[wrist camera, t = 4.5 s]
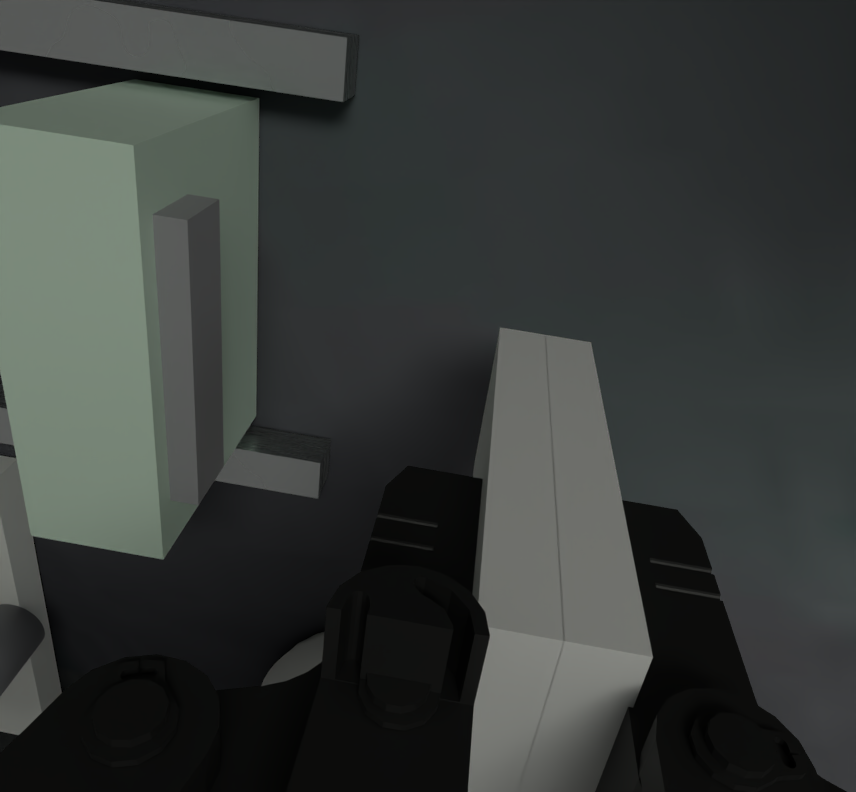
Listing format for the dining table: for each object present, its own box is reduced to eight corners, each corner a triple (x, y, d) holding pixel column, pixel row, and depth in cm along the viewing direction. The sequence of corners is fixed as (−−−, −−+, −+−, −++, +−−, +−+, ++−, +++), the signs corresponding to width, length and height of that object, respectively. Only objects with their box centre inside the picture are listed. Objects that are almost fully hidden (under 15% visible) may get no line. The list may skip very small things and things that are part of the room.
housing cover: (135, 79, 14) (-48, 116, 9) (285, 102, 14) (171, 151, 9) (157, 398, 17) (30, 535, 13) (277, 419, 17) (191, 564, 13)
